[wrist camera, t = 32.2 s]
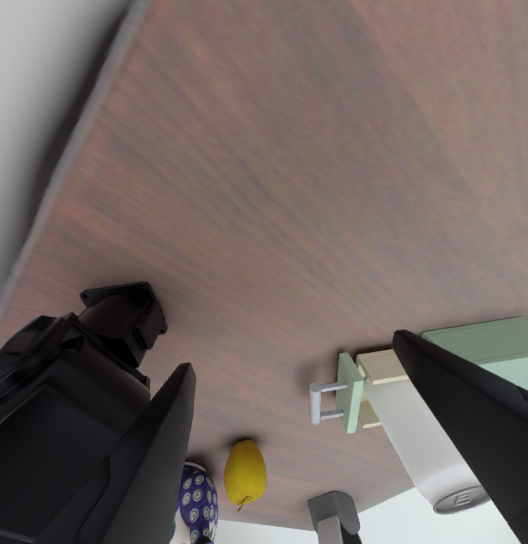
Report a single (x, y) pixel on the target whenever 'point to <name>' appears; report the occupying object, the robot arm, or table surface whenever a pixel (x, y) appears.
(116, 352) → the robot arm
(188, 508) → the teapot
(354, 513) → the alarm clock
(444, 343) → the cabinet
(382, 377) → the drawer
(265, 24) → the table surface
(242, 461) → the apple
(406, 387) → the can
